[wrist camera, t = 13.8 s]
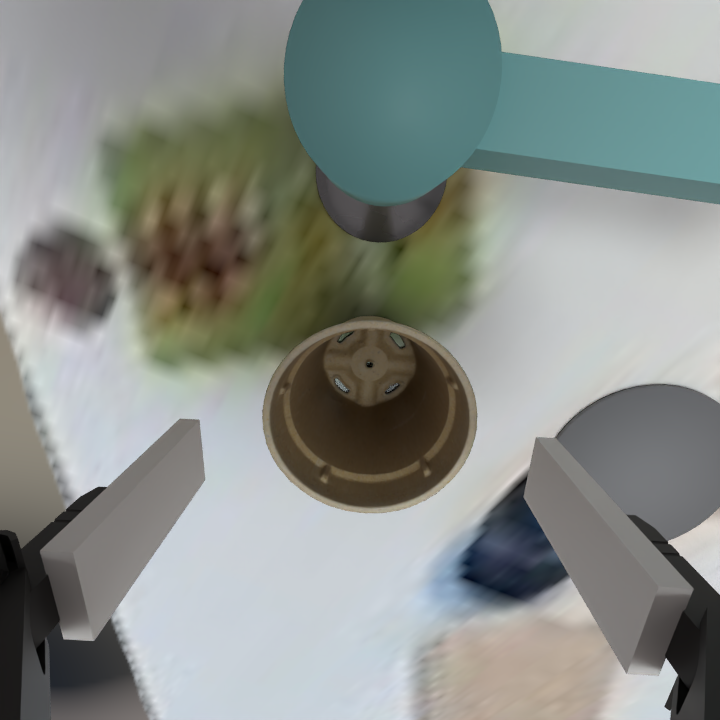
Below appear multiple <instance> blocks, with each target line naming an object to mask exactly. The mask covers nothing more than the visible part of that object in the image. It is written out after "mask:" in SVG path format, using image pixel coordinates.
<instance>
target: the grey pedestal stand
mask: <svg viewBox="0 0 720 720" xmlns="http://www.w3.org/2000/svg"><path fill="white" fill-rule="evenodd" d="M446 180H447V179H446ZM446 180H445V181H443V182H442V183H440V184H439V185H438V186H436V187H435V188H433V189H432V190H431V191H429V192H428V193H426V194H425V195H423V196H422V197H420V198H418V199H416V200H414V201H411V202H408V203H405V204H401V205H397V206H374V205H369V204H365V203H363V202H360V201H357V200H355V199H353V198H351V197H350V196H348V195H346V194H345V193H344V192H342V191H341V190H340V189H339V188H337V187H336V186H335V185H334V184H333V183H332V182H331V181H330V179H329V178H328V177H327V176H326V175H325V174H324V173H323V171H322V170H321V169H320V168H319V167H318V166H317V165H316V181H317V187H318V191H319V195H320V198H321V200H322V203H323V205H324V207H325V209H326V210H327V212H328V214H329V215H330V216H331V218H332V219H333V220H334V222H335V223H336V224H338V225H339V226H340V227H341V228H342V229H343V230H345V231H346V232H347V233H349V234H351V235H353V236H354V237H357V238H359V239H362V240H366V241H370V242H390V241H395V240H398V239H402V238H404V237H406V236H408V235H410V234H412V233H413V232H415V231H417V230H418V229H419V228H420V227H422V226H423V225H424V224H425V223H426V222H427V221H428V220H429V219H430V217H431V216H432V215H433V213H434V212H435V210H436V208H437V207H438V205H439V203H440V201H441V198H442V196H443V193H444V190H445V186H446Z"/></svg>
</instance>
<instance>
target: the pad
mask: <svg viewBox="0 0 720 720" xmlns="http://www.w3.org/2000/svg"><path fill="white" fill-rule="evenodd" d="M556 439H557V440H558V441H559V442H560V443H561V444H562V445H563V446H564V448H565V449H566V450H567V451H568V452H569V453H570V454H571V455H572V456H573V457H574V459H575V460H576V461H577V462H578V463H579V464H580V465H581V466H582V467H583V468H584V469H585V471H586V472H587V473H588V474H589V475H590V476H591V477H592V478H593V479H594V480H595V481H596V483H597V484H598V485H599V486H600V487H601V488H602V489H603V490H604V491H605V492H606V493H607V495H608V496H609V497H610V498H611V499H612V500H613V501H614V502H615V503H616V504H617V506H618V507H619V508H620V509H621V510H622V511H623V512H624V513H625V514H626V515H636V516H638V517H639V518H641V519H642V520H644V521H645V522H647V523H648V524H650V525H651V526H653V527H654V528H655V529H656V530H657V531H658V532H659V533H660V534H661V535H662V536H663V537H664V538H665V539H666V540H667V541H668V540H671V539H673V538H676V537H678V536H680V535H682V534H684V533H686V532H688V531H690V530H692V529H693V528H695V527H696V526H698V525H699V524H701V523H702V522H703V521H705V520H706V519H707V518H709V517H710V516H711V515H712V514H713V513H714V512H715V511H716V510H717V509H718V508H719V507H720V404H719V403H718V402H716V401H714V400H713V399H711V398H709V397H708V396H706V395H704V394H702V393H699V392H697V391H694V390H692V389H688V388H684V387H680V386H673V385H646V386H638V387H634V388H629V389H625V390H622V391H619V392H616V393H614V394H611V395H609V396H607V397H604V398H602V399H600V400H598V401H596V402H595V403H593V404H592V405H590V406H588V407H587V408H585V409H584V410H583V411H581V412H580V413H579V414H577V415H576V416H575V417H574V418H573V419H572V420H571V421H570V422H569V423H568V424H567V425H566V426H565V427H564V428H563V429H562V431H561V432H560V433H559V434H558V436H557V437H556Z"/></svg>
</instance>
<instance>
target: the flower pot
mask: <svg viewBox="0 0 720 720" xmlns="http://www.w3.org/2000/svg"><path fill="white" fill-rule="evenodd" d="M351 331H354V332H353V334H351V335H349V336H348V337H347V338H345V339H344V340H343V341H342V342H341V343H340V342H338V339H339V338H340V336H341V335H342V334H344V333H347V332H351ZM391 333H396V334H399V335H400V337H401V338H402V340H403V342H404V343H405V347H403V348H399V347H398V345H397V344H396V343H395V341H394V340H393V339H392V338H391V337H390V335H391ZM367 362H372V363H373V366H372V367H367V366H366V363H367ZM336 378H338V379H339V380H340V382H341V383H342V384H343V385H344V386H345V387H346V388H347V389H349V392H348V393H346V392H344V391H342V390H340V388H339V387H338V386H337V385H336V384H335V379H336ZM396 383H398V384H399V386H398V387H397V388H396V389H395V390H394V391H392V392H391V393H385V391H386V390H388V389H389V388H390V385H391V386H392V385H394V384H396ZM262 413H263V416H262V419H263V430H264V435H265V439H266V444H267V446H268V449H269V450H270V453H271V455H272V457H273V459H274V461H275V462H276V464H277V466H278V467H279V468H280V470H281V471H282V472H283V473H284V474H285V476H286V477H287V478H288V479H289V480H290V482H292V483H293V484H295V485H296V486H297V487H298V488H300V489H301V490H302V491H303V492H305V493H306V494H308V495H309V496H311V497H312V498H314V499H316V500H318V501H320V502H322V503H324V504H326V505H329V506H332V507H335V508H339V509H342V510H346V511H352V512H359V513H386V512H392V511H398V510H401V509H405V508H408V507H411V506H413V505H417V504H418V503H420V502H422V501H425V500H427V499H428V498H430V497H432V496H433V495H435V494H437V492H439V491H440V490H441V489H442V488H444V487H445V486H446V485H447V484H448V483H449V482H450V481H451V480H452V479H453V478H454V477H455V476H456V474H457V473H458V472H459V471H460V469H461V468H462V466H463V465H464V463H465V461H466V459H467V458H468V456H469V454H470V451H471V448H472V446H473V442H474V439H475V435H476V430H477V407H476V400H475V395H474V392H473V389H472V387H471V384H470V382H469V380H468V378H467V376H466V374H465V372H464V370H463V369H462V367H461V366H460V364H459V363H458V362H457V361H456V359H455V358H454V357H453V356H452V355H451V354H450V352H449V351H448V350H447V349H445V348H444V347H443V346H442V345H441V344H439V343H438V342H437V341H435V340H434V339H432V338H431V337H429V336H428V335H426V334H424V333H422V332H420V331H418V330H416V329H414V328H411V327H409V326H406V325H403V324H399V323H395V322H393V321H391V320H389V319H386V318H382V317H377V316H361V317H357V318H353V319H351V320H348V321H346V322H344V323H341V324H338V325H334V326H331V327H329V328H326V329H323V330H321V331H319V332H318V333H315V334H313V335H312V336H310V337H308V338H307V339H305V340H304V341H302V342H301V343H300V344H299V345H297V346H296V347H295V348H294V349H293V350H292V351H291V352H290V353H289V354H288V355H287V356H286V357H285V358H284V360H283V361H282V362H281V363H280V365H279V366H278V368H277V369H276V371H275V373H274V374H273V376H272V378H271V380H270V383H269V385H268V388H267V391H266V395H265V399H264V405H263V410H262Z"/></svg>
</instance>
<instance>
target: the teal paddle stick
mask: <svg viewBox="0 0 720 720" xmlns="http://www.w3.org/2000/svg"><path fill="white" fill-rule="evenodd" d="M284 86H285V95H286V101H287V106H288V111H289V115H290V118H291V121H292V123H293V126H294V129H295V131H296V133H297V136H298V138H299V140H300V142H301V144H302V145H303V147H304V148H305V150H306V152H307V153H308V155H309V156H310V157H311V158H312V160H313V161H314V162H315V163H316V165H317V166H318V167H319V168H320V169H321V170H322V171H323V173H324V174H325V175H326V176H327V177H328V178H329V179H330V181H331V182H332V183H333V184H334V185H335V186H336V187H337V188H339V189H340V190H341V191H342V192H344V193H345V194H346V195H348V196H350V197H351V198H353V199H355V200H357V201H360V202H363V203H365V204H369V205H374V206H397V205H401V204H405V203H408V202H411V201H414V200H416V199H418V198H420V197H422V196H423V195H425V194H426V193H428V192H429V191H431V190H432V189H433V188H435V187H436V186H438V185H439V184H440V183H442V182H443V181H445V180H446V179H447V178H449V177H450V176H451V175H453V174H454V173H455V172H456V171H457V170H458V169H459V168H460V167H464V168H471V169H478V170H485V171H491V172H498V173H505V174H512V175H519V176H526V177H533V178H540V179H547V180H554V181H561V182H568V183H575V184H582V185H589V186H596V187H603V188H610V189H617V190H624V191H631V192H638V193H644V194H651V195H658V196H665V197H672V198H679V199H686V200H693V201H700V202H707V203H714V204H720V84H718V83H711V82H704V81H697V80H690V79H683V78H677V77H670V76H663V75H656V74H649V73H642V72H636V71H629V70H622V69H615V68H608V67H601V66H595V65H588V64H581V63H574V62H567V61H561V60H554V59H547V58H540V57H533V56H526V55H520V54H513V53H506V52H501V42H500V37H499V31H498V27H497V24H496V21H495V17H494V14H493V11H492V9H491V7H490V5H489V3H488V0H303V1H302V3H301V5H300V7H299V9H298V11H297V14H296V16H295V18H294V21H293V24H292V27H291V30H290V33H289V38H288V42H287V46H286V53H285V62H284Z"/></svg>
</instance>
